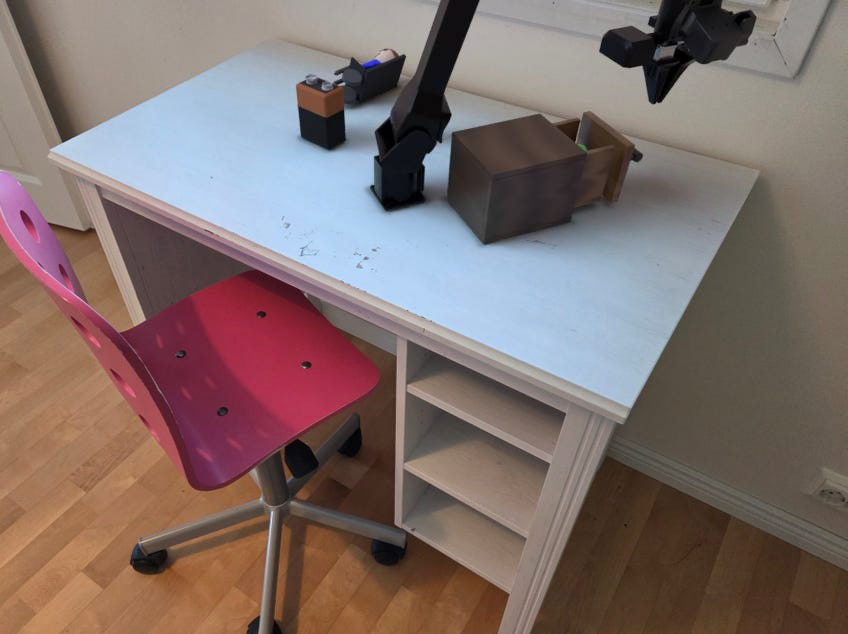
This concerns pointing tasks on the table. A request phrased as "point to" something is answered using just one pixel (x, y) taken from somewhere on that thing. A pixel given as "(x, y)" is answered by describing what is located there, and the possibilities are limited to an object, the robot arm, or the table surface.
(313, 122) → the battery
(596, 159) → the drawer
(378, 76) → the character figurine
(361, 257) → the table surface
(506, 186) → the cabinet
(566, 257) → the table surface
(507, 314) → the table surface
